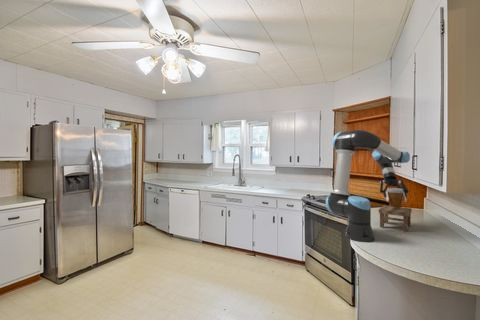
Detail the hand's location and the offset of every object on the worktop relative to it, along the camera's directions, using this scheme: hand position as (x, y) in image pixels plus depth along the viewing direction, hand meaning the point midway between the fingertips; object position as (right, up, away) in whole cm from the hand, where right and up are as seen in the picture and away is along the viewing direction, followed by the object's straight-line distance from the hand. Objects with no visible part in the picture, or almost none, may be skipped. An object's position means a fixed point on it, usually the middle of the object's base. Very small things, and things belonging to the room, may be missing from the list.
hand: (396, 201), depth 155 cm
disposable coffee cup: (+1, -4, +3) cm, 6 cm away
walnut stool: (+1, -18, +3) cm, 18 cm away
